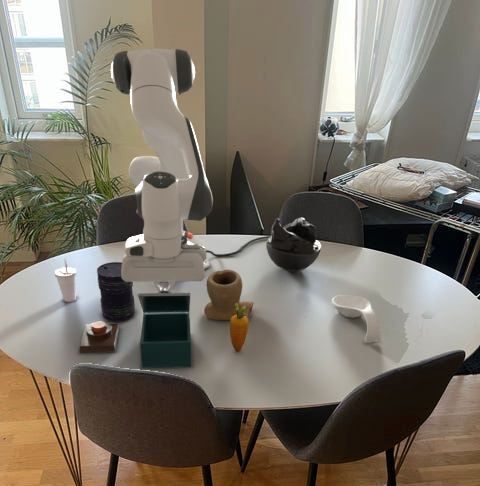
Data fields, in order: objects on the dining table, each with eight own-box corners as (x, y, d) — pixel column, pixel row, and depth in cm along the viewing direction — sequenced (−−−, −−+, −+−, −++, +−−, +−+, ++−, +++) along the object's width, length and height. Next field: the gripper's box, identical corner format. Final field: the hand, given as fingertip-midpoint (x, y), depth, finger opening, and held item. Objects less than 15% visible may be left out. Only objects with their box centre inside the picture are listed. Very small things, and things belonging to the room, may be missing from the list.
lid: (190, 295, 115) (190, 292, 115) (137, 296, 113) (138, 293, 113) (189, 312, 129) (189, 309, 130) (143, 313, 128) (143, 310, 128)
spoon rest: (325, 304, 153) (328, 285, 150) (358, 302, 156) (362, 283, 152) (354, 345, 134) (359, 324, 130) (392, 342, 136) (397, 321, 132)
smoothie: (74, 305, 145) (67, 264, 138) (55, 302, 146) (47, 261, 139) (84, 295, 150) (78, 255, 143) (65, 292, 151) (59, 252, 144)
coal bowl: (326, 266, 178) (333, 219, 169) (303, 285, 164) (309, 235, 154) (280, 253, 187) (284, 207, 177) (254, 270, 172) (257, 221, 163)
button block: (115, 352, 125) (113, 339, 123) (80, 353, 124) (78, 340, 122) (119, 329, 135) (118, 317, 133) (86, 330, 134) (85, 318, 131)
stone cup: (202, 325, 139) (202, 280, 131) (205, 305, 149) (206, 262, 141) (253, 328, 139) (256, 283, 131) (253, 308, 149) (256, 265, 141)
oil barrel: (141, 309, 145) (138, 265, 137) (124, 325, 137) (120, 279, 129) (113, 303, 147) (108, 259, 139) (95, 318, 139) (89, 272, 131)
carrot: (228, 347, 130) (230, 300, 122) (245, 347, 130) (249, 300, 122) (229, 357, 126) (231, 309, 118) (247, 357, 126) (251, 309, 118)
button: (105, 333, 126) (104, 328, 125) (91, 333, 126) (90, 328, 125) (106, 326, 129) (106, 320, 128) (93, 326, 129) (92, 321, 128)
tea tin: (191, 366, 122) (190, 342, 117) (141, 368, 120) (139, 343, 116) (189, 335, 134) (189, 312, 130) (145, 336, 132) (143, 313, 128)
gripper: (205, 239, 115) (205, 289, 122) (120, 239, 112) (125, 289, 120) (207, 249, 110) (206, 301, 117) (117, 249, 107) (122, 302, 114)
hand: (164, 295), depth 118 cm, fingers closed, pressing on lid
